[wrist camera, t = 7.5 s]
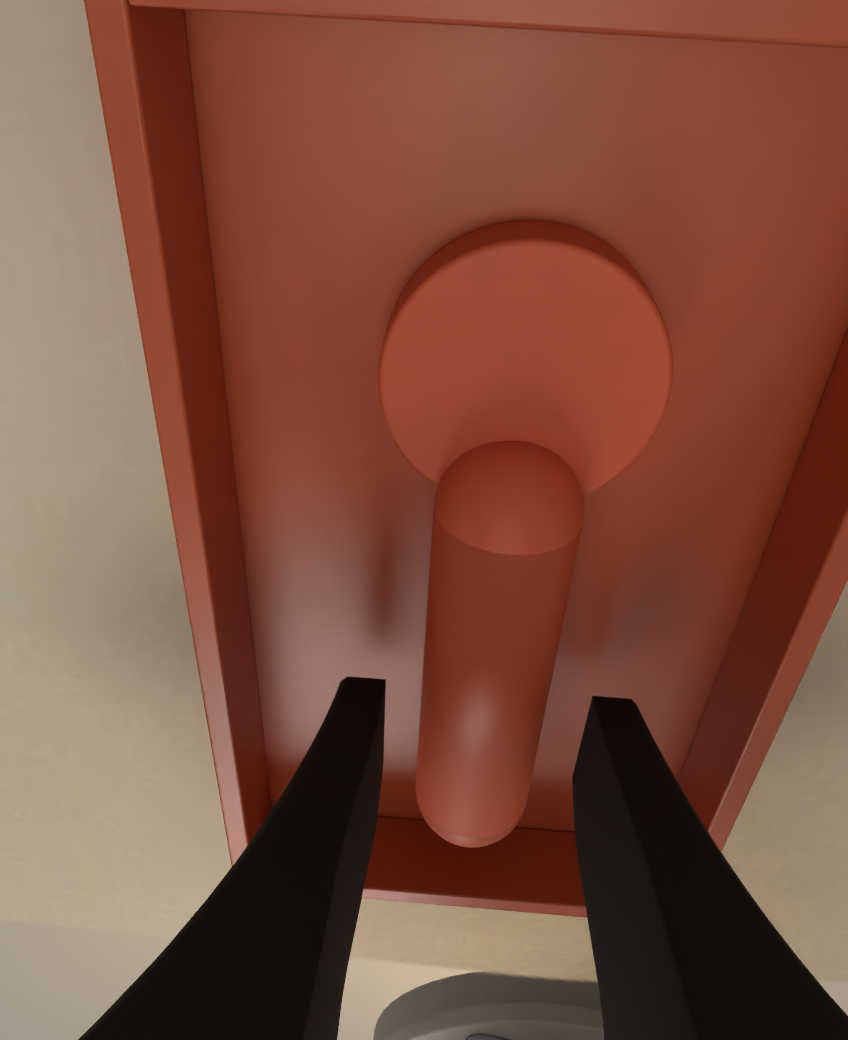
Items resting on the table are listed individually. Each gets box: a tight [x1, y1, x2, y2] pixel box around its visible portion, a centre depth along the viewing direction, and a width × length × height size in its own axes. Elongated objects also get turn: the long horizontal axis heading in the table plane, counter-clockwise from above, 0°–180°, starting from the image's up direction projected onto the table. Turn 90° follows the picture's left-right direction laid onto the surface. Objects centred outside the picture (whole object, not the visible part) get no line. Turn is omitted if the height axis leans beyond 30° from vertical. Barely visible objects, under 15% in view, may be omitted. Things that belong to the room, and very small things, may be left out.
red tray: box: [84, 0, 848, 917], centre depth 12 cm, size 15×9×2 cm, turn 177°
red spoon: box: [378, 221, 673, 848], centre depth 11 cm, size 10×4×2 cm, turn 177°
